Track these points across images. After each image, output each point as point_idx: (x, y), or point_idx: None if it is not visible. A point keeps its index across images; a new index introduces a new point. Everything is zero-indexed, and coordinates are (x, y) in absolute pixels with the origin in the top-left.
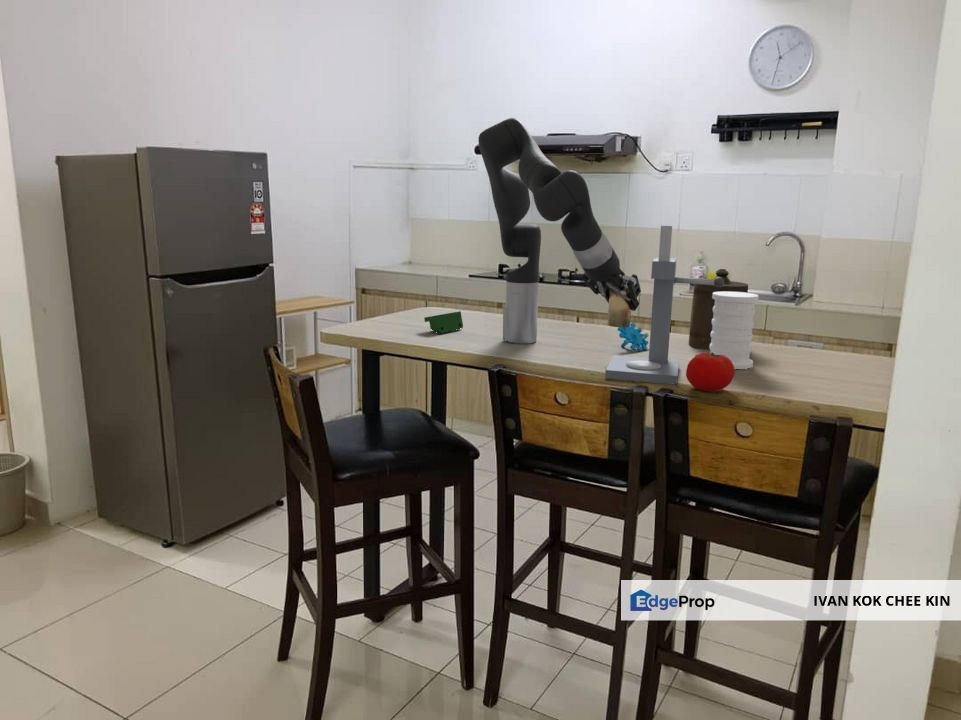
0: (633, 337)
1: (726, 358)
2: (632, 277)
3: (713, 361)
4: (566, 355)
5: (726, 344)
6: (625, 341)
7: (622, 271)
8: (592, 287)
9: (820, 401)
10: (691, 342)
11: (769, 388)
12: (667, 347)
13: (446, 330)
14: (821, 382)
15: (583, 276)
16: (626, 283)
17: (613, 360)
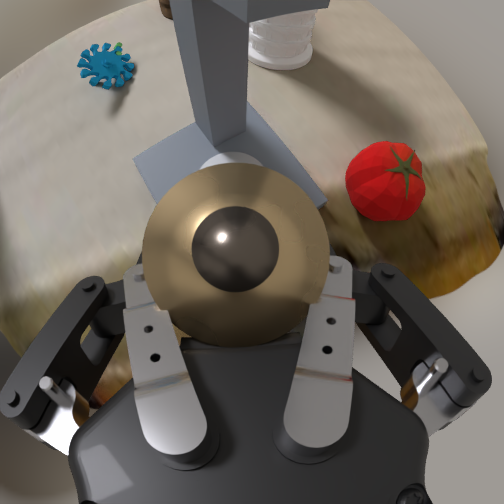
0: (109, 67)
1: (419, 161)
2: (471, 406)
3: (421, 195)
4: (52, 196)
5: (292, 37)
6: (106, 86)
7: (425, 457)
8: (99, 372)
9: (457, 145)
10: (172, 16)
11: (401, 125)
12: (245, 111)
13: None
14: (399, 67)
15: (54, 447)
16: (405, 401)
17: (157, 194)
